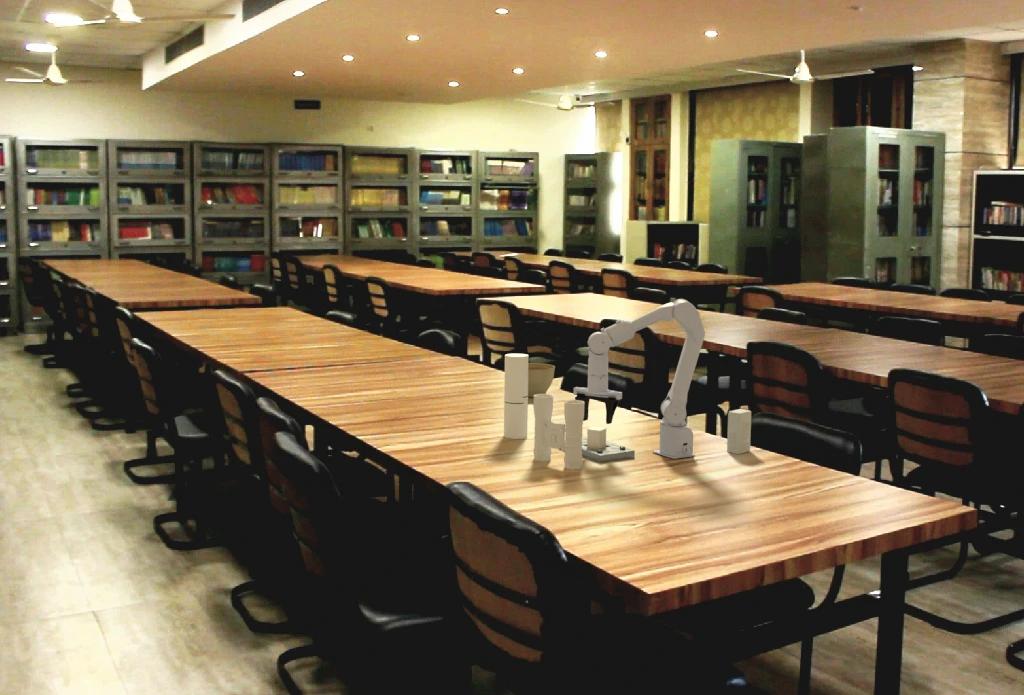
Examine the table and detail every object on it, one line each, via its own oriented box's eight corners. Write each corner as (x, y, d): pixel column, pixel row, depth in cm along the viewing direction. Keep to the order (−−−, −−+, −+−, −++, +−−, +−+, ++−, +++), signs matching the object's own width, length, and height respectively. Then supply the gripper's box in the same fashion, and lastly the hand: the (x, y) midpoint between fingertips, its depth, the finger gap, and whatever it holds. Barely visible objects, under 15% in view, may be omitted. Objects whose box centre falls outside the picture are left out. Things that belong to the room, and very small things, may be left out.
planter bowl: (527, 389, 404) (527, 361, 403) (562, 394, 395) (563, 365, 393) (501, 395, 391) (502, 366, 390) (538, 401, 382) (538, 371, 380)
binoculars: (528, 459, 297) (529, 395, 294) (542, 455, 300) (543, 393, 298) (573, 470, 284) (574, 404, 282) (587, 467, 288) (588, 402, 286)
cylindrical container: (532, 436, 325) (533, 355, 321) (516, 440, 320) (517, 357, 316) (514, 432, 330) (516, 352, 326) (498, 436, 324) (499, 355, 321)
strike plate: (634, 457, 300) (634, 448, 299) (600, 462, 294) (600, 453, 293) (592, 443, 317) (592, 434, 316) (559, 447, 310) (559, 439, 310)
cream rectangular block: (605, 452, 306) (606, 428, 305) (599, 454, 302) (599, 430, 302) (593, 450, 308) (593, 426, 307) (586, 453, 305) (587, 429, 304)
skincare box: (737, 448, 312) (739, 408, 311) (750, 451, 309) (752, 410, 308) (726, 451, 308) (727, 411, 306) (738, 454, 305) (740, 413, 303)
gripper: (627, 375, 302) (626, 422, 303) (581, 370, 309) (581, 416, 311) (616, 378, 296) (615, 426, 297) (570, 373, 303) (569, 420, 305)
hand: (596, 421), depth 304 cm, fingers open, 7 cm apart
